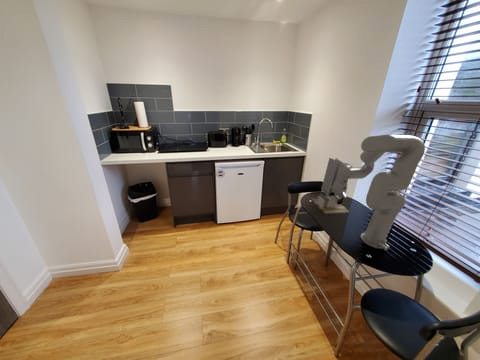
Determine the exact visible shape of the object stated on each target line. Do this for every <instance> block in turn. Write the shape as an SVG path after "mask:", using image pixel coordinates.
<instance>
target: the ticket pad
mask: <svg viewBox="0 0 480 360" xmlns="http://www.w3.org/2000/svg"><path fill="white" fill-rule="evenodd" d="M317 199H318V201H317V204H318V205H319V206H320V207H324V208H325V209H326V207H332V206H333V203H334V199H333V198H331V197H330V195H328V196H326V195H325V194H324V193H319V195H318V197H317Z"/></svg>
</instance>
